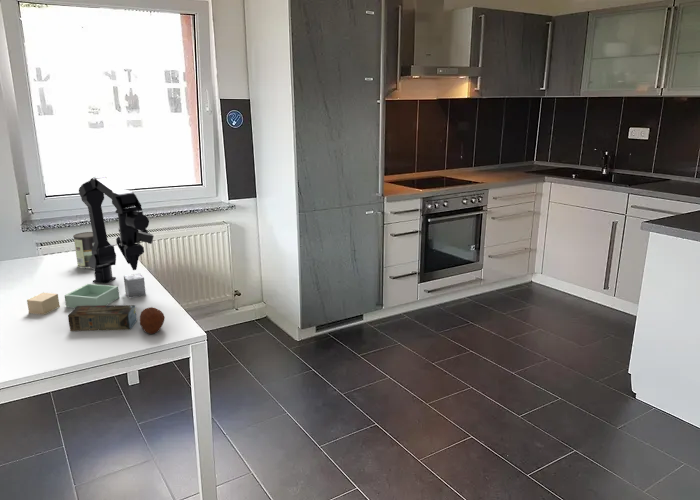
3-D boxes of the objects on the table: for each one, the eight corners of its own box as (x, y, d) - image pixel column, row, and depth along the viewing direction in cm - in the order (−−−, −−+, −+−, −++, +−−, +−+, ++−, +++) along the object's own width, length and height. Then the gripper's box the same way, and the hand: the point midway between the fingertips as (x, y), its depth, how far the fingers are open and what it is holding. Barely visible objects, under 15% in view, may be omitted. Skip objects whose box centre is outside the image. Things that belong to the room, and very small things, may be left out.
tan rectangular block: (45, 305, 192) (43, 292, 190) (59, 307, 190) (57, 293, 189) (29, 313, 184) (26, 300, 183) (44, 315, 183) (42, 301, 182)
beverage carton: (130, 330, 172) (128, 311, 170) (68, 332, 170) (65, 313, 168) (137, 320, 180) (135, 302, 178) (78, 322, 178) (75, 304, 176)
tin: (125, 293, 204) (123, 276, 202) (141, 290, 207) (140, 273, 205) (129, 298, 199) (127, 280, 197) (145, 295, 202) (144, 277, 200)
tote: (89, 294, 202) (87, 283, 200) (119, 297, 199) (118, 286, 198) (66, 307, 190) (64, 295, 189) (97, 310, 188) (96, 298, 186)
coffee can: (107, 261, 242) (103, 231, 238) (96, 268, 232) (92, 237, 228) (84, 261, 242) (80, 231, 238) (72, 268, 232) (68, 237, 228)
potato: (158, 321, 179) (156, 299, 177) (171, 333, 170) (169, 310, 168) (135, 327, 174) (133, 304, 172) (146, 339, 166) (144, 315, 163)
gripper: (156, 228, 192) (160, 269, 197) (144, 219, 207) (148, 257, 212) (123, 232, 187) (128, 274, 191) (113, 222, 202) (118, 261, 206)
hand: (132, 266), depth 200 cm, fingers open, 9 cm apart
